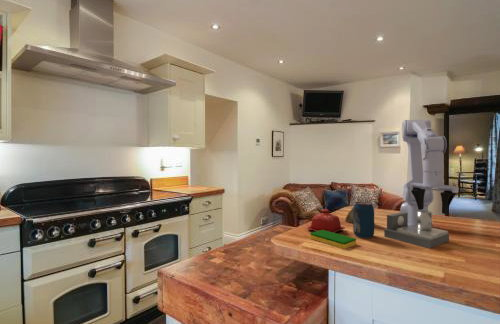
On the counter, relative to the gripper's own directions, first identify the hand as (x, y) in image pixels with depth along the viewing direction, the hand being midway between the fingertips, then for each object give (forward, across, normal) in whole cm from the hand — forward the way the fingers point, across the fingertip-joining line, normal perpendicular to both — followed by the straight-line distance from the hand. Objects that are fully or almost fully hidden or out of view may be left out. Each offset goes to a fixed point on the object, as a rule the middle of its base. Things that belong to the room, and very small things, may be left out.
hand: (432, 211), depth 96 cm
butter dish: (+10, -27, -22) cm, 37 cm away
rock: (+10, -28, -2) cm, 30 cm away
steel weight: (+6, -1, -3) cm, 7 cm away
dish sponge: (+10, -17, -31) cm, 36 cm away
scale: (+10, -3, -4) cm, 11 cm away
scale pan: (+7, -2, -4) cm, 8 cm away
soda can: (+10, -15, -16) cm, 24 cm away
